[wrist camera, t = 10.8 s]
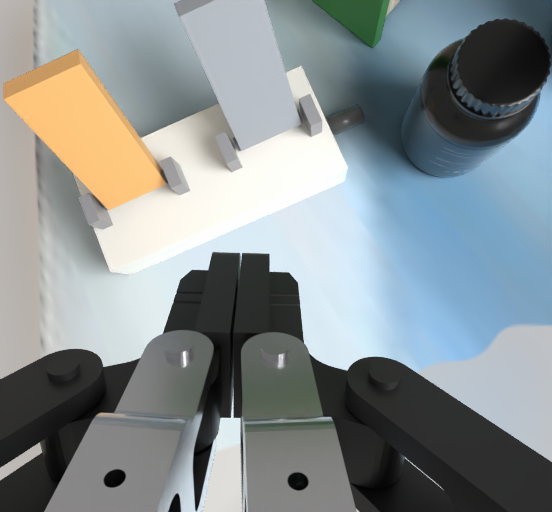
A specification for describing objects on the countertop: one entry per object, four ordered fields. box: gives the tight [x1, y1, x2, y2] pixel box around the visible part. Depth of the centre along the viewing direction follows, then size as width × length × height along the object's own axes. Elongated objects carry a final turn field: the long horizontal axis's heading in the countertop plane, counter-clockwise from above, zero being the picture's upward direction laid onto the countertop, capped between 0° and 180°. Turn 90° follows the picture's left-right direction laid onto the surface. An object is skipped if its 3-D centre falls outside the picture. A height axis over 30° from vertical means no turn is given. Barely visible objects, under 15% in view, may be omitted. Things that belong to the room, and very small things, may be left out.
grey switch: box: [174, 0, 303, 151], centre depth 29 cm, size 5×1×10 cm, turn 113°
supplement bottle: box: [401, 19, 551, 177], centre depth 31 cm, size 7×7×12 cm
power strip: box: [72, 66, 365, 274], centre depth 35 cm, size 21×8×6 cm, turn 113°
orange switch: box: [4, 49, 168, 210], centre depth 30 cm, size 5×1×10 cm, turn 113°
